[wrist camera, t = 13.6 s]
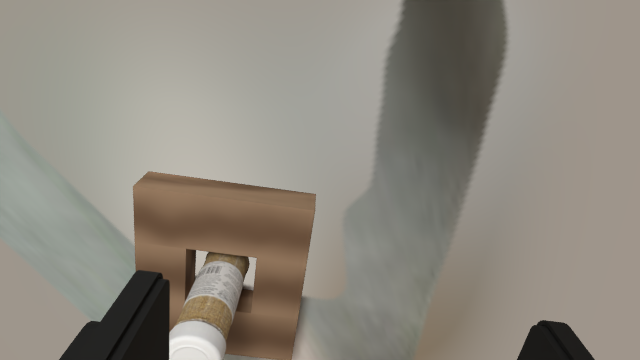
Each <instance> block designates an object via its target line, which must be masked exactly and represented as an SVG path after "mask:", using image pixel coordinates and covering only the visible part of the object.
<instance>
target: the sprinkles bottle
mask: <svg viewBox="0 0 640 360" xmlns="http://www.w3.org/2000/svg"><path fill="white" fill-rule="evenodd" d="M248 268H249V259H248V257H247V256H239V255H231V254H224V253H216V252H209V253H208V254H207V256H206V261H205V263H204V265H203V267H202V268H201V270H200V272H199V274H198V276H197V278H196V280H195V282H194V284H193V286H192V288H191V290H190V293H189V295H188V297H187V299H186V301H185V303H184V306H183V310H182V312H181V314H180V317H179V319H178V321H177V323H176V325H175V326H174V328H173V329H172V330H171V331H170V333H169V360H223V358H224V354H225V351H226V339H227V336H228V332H229V329H230V326H231V324H232V322H233V318H234V315H235V311H236V308H237V305H238V301H239V298H240V294H241V291H242V287H243V282H244V278H245V275H246V273H247V271H248Z"/></svg>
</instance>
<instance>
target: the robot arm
mask: <svg viewBox="0 0 640 360" xmlns="http://www.w3.org/2000/svg"><path fill="white" fill-rule="evenodd" d="M169 327H170V282H169V280H167V279H163V275H162V273H160V272H152V271H144V270H138V271H136V272H135V274H134V275H133V276H132V278H131V279H130V281H129V282H128V283H127V285H126V286H125V288H124V289H123V291H122V292H121V293H120V295H119V296H118V298H117V299H116V300H115V302H114V303H113V305H112V306H111V308H110V309H109V310H108V312H107V313H106V315H105V316H104V317H103V319H102V320H101V322H96V321H90V322H89V323H87V324H86V325H85V326H84V327H83V328H82V330H81V331H80V332H79V334H78V335H77V336H76V338H75V339H74V340H73V342H72V343H71V344H70V346H69V347H68V349H67V350H66V351H65V352H64V354H63V355H62V356H61V358H60V359H59V360H169ZM517 360H594V358H593V357H592V355H591V354H590V353H589V352H588V350H587V349H586V348H585V346H584V345H583V344H582V342H581V341H580V340H579V338H578V337H577V336H576V334H575V333H574V332H573V331H572V329H571V328H570V327H569V326H568V325H567V324H565V323H561V322H553V321H544V320H543V321H540V322H538V324H537V325H534V326H532V328H531V329H530V332H529V334H528V336H527V338H526V340H525V343H524V345H523V348H522V350H521V352H520V354H519V356H518V359H517Z"/></svg>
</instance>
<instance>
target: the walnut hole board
mask: <svg viewBox="0 0 640 360" xmlns="http://www.w3.org/2000/svg"><path fill="white" fill-rule="evenodd" d="M133 198H134V230H135V264H136V271H138V270H144V271H152V272H160V273H162V275H163V279H167V280H169V282H170V327H169V333H170V331H171V330H172V329H173V328H174V326H175V325H176V323H177V321H178V319H179V317H180V314H181V312H182V310H183V306H184V303H185V301H186V299H187V297H188V295H189V293H190V290H191V288H192V286H193V284H194V282H195V262H196V250H200V251H208V252H216V253H224V254H231V255H239V256H247V257H255V258H257V261H256V271H255V281H254V290H253V291H252V290H244V289H242V291H241V294H240V298H239V301H238V305H237V308H236V311H235V315H234V318H233V322H232V324H231V326H230V329H229V332H228V336H227V339H226V351H225V354H233V355H241V356H250V357H259V358H267V359H276V360H291V359H292V353H293V347H294V340H295V334H296V328H297V321H298V315H299V309H300V302H301V296H302V289H303V284H304V277H305V271H306V264H307V258H308V252H309V246H310V239H311V233H312V227H313V220H314V214H315V200H316V199H315V198H316V194H311V193H303V192H296V191H289V190H281V189H274V188H267V187H259V186H252V185H245V184H237V183H230V182H223V181H215V180H208V179H200V178H193V177H186V176H179V175H171V174H163V173H157V172H148V173H146V174H145V175H144V176H143V178H141V179H140V180H139V181H138V182H137V183H136V184H135V185H134V186H133Z"/></svg>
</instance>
